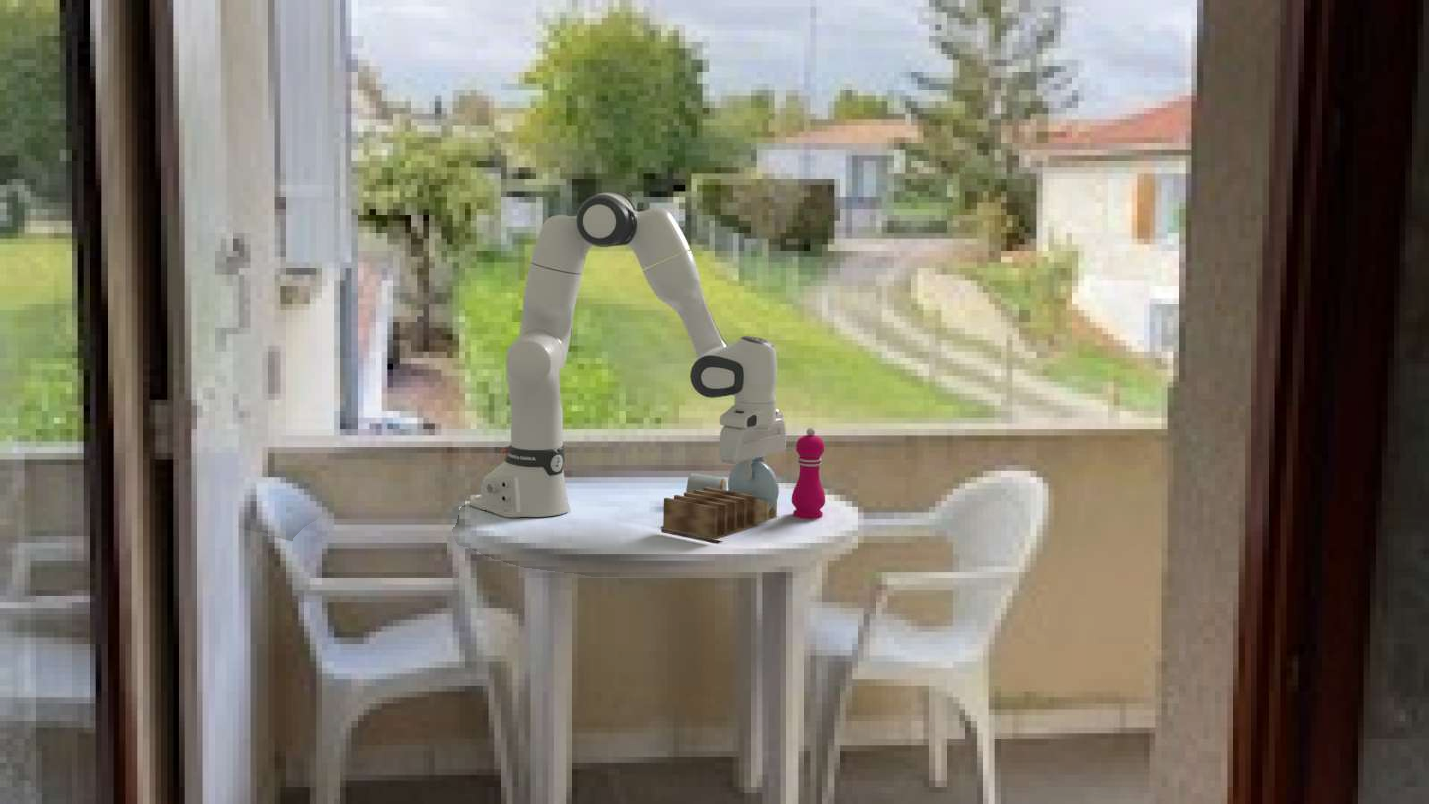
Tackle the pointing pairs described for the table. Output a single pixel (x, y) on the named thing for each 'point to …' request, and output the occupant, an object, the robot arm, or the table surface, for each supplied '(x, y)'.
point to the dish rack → (709, 514)
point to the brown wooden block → (765, 511)
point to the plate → (755, 482)
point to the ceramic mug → (704, 482)
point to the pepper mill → (809, 478)
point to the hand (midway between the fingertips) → (753, 478)
